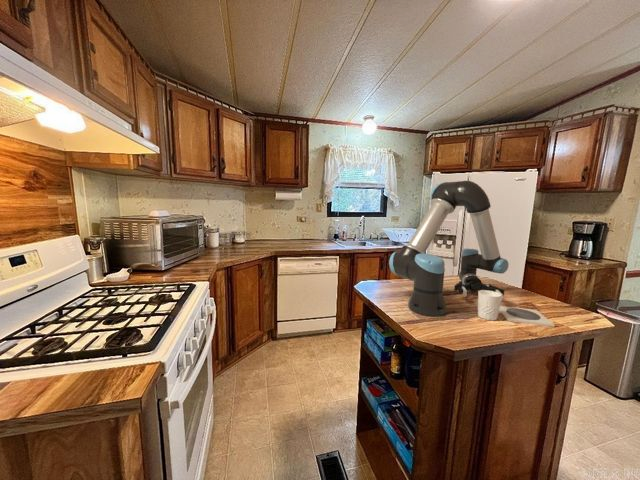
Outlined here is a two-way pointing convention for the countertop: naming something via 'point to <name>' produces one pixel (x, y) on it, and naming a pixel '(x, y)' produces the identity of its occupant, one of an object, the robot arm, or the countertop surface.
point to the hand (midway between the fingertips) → (483, 295)
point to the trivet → (524, 316)
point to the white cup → (488, 304)
